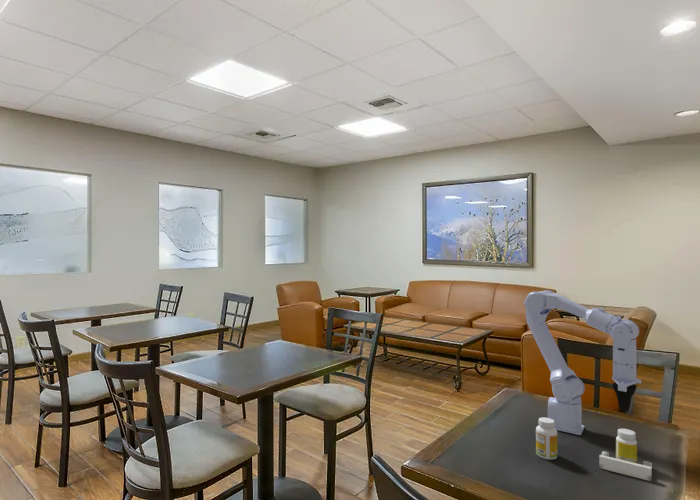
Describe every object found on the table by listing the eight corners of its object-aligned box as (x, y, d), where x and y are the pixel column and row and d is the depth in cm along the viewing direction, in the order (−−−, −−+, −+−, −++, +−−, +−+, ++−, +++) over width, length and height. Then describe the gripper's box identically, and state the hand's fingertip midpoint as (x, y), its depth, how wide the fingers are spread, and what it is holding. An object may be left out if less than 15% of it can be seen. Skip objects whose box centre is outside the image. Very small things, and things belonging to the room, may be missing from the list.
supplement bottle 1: (556, 452, 119) (556, 417, 119) (558, 461, 114) (558, 425, 114) (535, 449, 120) (535, 415, 120) (536, 458, 115) (536, 422, 115)
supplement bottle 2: (641, 468, 110) (641, 435, 110) (621, 467, 110) (621, 434, 110) (630, 459, 115) (631, 428, 115) (612, 458, 115) (612, 427, 115)
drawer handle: (599, 468, 110) (599, 456, 110) (602, 455, 117) (602, 444, 117) (651, 481, 104) (651, 469, 104) (651, 467, 110) (651, 456, 110)
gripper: (639, 370, 114) (639, 421, 114) (642, 359, 126) (642, 405, 126) (609, 366, 119) (609, 415, 119) (614, 356, 130) (614, 400, 130)
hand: (624, 409), depth 123 cm, fingers closed
